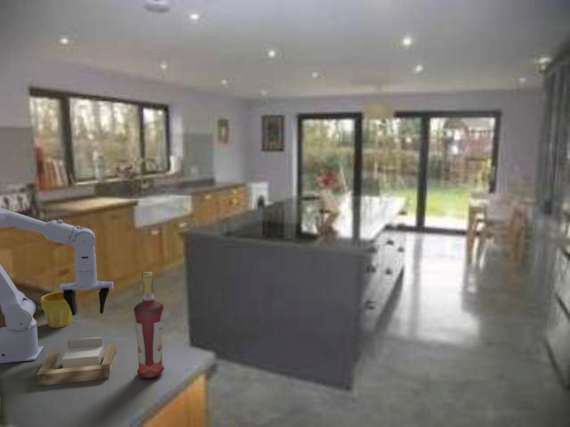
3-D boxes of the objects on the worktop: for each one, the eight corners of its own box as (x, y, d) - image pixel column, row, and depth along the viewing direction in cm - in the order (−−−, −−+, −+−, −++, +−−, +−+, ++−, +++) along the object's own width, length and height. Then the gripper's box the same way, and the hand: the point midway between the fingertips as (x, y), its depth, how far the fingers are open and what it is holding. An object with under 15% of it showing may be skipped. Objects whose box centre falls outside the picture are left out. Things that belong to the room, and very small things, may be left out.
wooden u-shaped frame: (37, 385, 109) (36, 374, 108) (52, 359, 122) (52, 349, 122) (109, 378, 113) (108, 367, 112) (116, 353, 126) (116, 343, 126)
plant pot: (83, 318, 151) (81, 291, 149) (65, 331, 140) (63, 302, 139) (55, 316, 152) (53, 290, 150) (35, 329, 141) (33, 300, 140)
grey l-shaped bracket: (63, 372, 115) (61, 350, 114) (69, 359, 122) (68, 339, 121) (99, 369, 117) (97, 347, 116) (103, 356, 124) (102, 336, 123)
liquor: (164, 380, 112) (161, 276, 108) (134, 383, 111) (130, 278, 106) (165, 366, 119) (163, 268, 115) (138, 368, 118) (134, 269, 113)
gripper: (55, 274, 122) (58, 320, 124) (109, 272, 125) (111, 316, 127) (61, 267, 128) (64, 311, 130) (113, 265, 132) (115, 307, 134)
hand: (88, 313), depth 129 cm, fingers open, 7 cm apart
